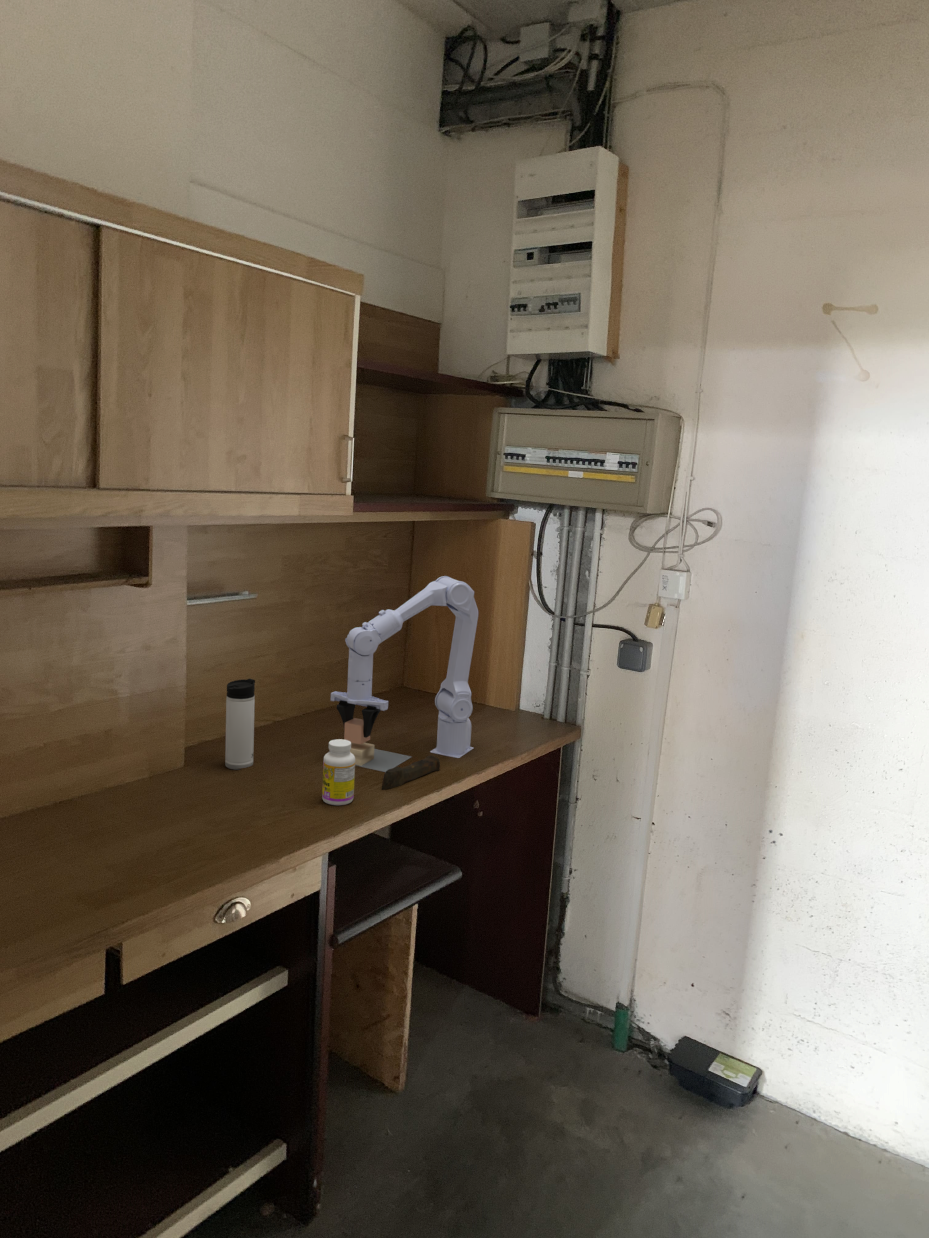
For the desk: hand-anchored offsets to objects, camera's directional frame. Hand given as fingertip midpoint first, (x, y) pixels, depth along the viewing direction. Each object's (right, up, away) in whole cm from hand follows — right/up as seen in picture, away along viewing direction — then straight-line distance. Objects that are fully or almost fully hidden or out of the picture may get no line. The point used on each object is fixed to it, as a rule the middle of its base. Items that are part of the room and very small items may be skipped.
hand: (357, 734), depth 216 cm
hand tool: (+13, -10, -9) cm, 19 cm away
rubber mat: (+3, -7, +3) cm, 8 cm away
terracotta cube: (0, -1, 0) cm, 1 cm away
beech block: (0, -6, +1) cm, 6 cm away
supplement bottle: (-2, -11, -23) cm, 26 cm away
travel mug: (-27, -7, -6) cm, 28 cm away
